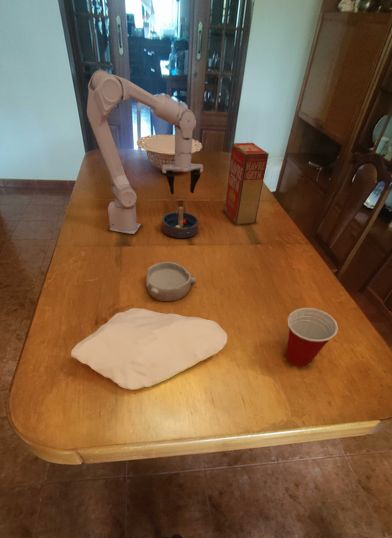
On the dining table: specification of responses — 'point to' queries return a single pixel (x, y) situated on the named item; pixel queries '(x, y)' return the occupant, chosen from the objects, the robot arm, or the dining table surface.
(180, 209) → the stick
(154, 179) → the dining table surface
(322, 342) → the plastic cup
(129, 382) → the crumpled cloth
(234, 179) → the food packaging
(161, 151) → the woven basket
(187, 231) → the bowl
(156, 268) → the dish
